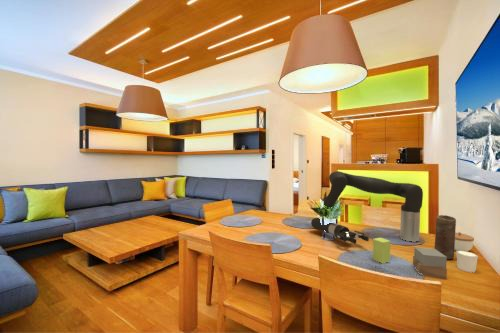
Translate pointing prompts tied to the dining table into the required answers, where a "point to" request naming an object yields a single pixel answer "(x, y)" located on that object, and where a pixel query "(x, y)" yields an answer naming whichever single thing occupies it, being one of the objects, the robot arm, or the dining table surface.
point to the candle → (445, 235)
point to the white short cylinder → (466, 261)
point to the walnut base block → (430, 270)
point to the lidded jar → (463, 242)
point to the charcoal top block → (430, 257)
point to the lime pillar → (381, 250)
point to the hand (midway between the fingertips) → (362, 240)
